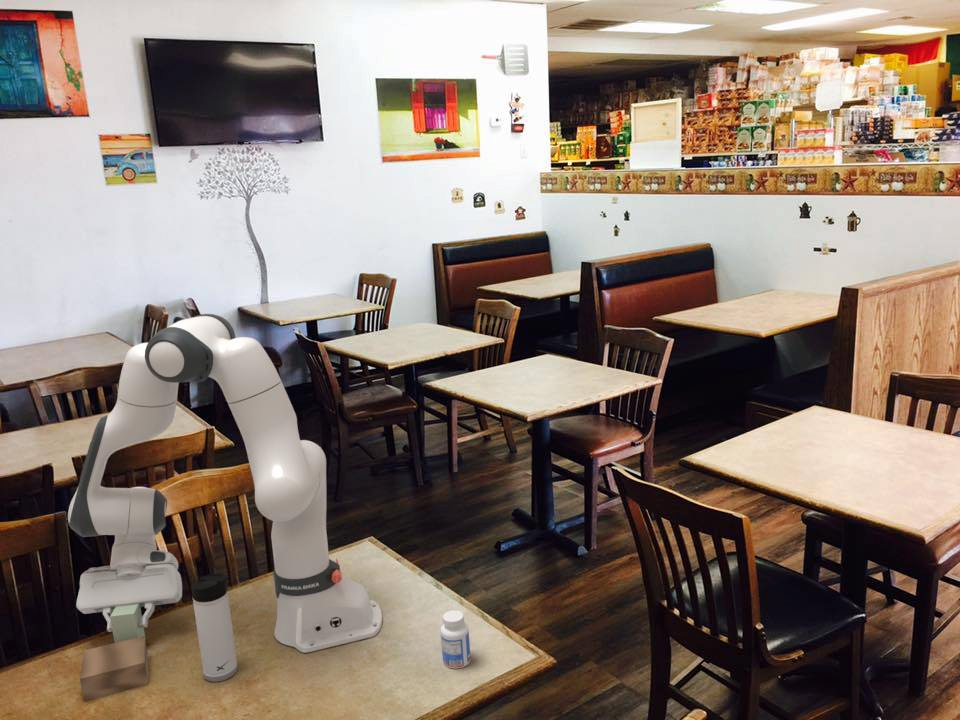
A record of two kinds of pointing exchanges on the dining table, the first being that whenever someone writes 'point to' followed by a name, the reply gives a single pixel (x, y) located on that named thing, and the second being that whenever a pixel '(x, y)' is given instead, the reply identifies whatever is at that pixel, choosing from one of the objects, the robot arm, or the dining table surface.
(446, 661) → the pill bottle
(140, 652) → the walnut block
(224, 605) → the travel mug
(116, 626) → the sage block
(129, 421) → the robot arm
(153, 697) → the dining table surface
